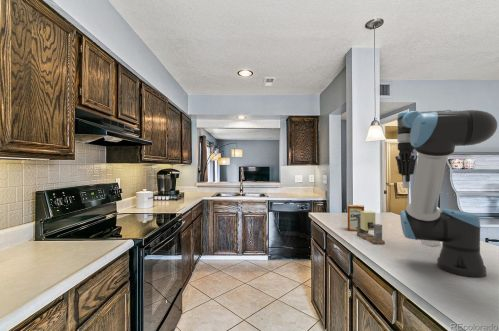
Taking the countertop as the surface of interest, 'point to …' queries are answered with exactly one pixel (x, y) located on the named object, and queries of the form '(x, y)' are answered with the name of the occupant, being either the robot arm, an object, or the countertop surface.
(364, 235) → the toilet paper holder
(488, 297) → the countertop surface
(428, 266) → the countertop surface
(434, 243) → the milk
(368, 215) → the pale yellow block
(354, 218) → the baking soda box
